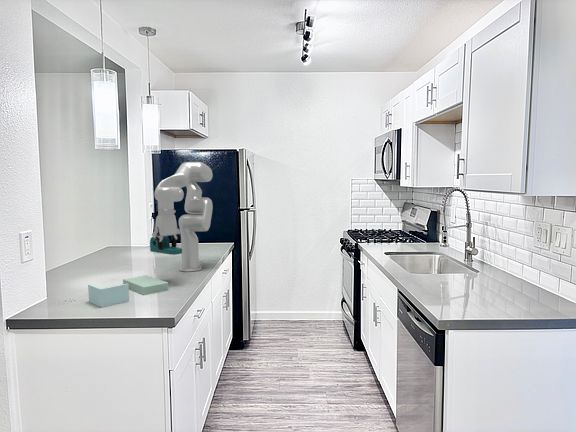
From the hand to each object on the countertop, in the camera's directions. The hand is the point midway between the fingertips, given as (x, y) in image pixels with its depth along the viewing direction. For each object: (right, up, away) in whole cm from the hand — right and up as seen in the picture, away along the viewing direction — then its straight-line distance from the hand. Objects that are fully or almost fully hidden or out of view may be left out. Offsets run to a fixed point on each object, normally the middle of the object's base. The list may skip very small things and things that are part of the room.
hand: (167, 248), depth 214 cm
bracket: (0, -2, 0) cm, 2 cm away
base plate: (-8, -19, -8) cm, 22 cm away
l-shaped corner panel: (-17, -21, -29) cm, 40 cm away
